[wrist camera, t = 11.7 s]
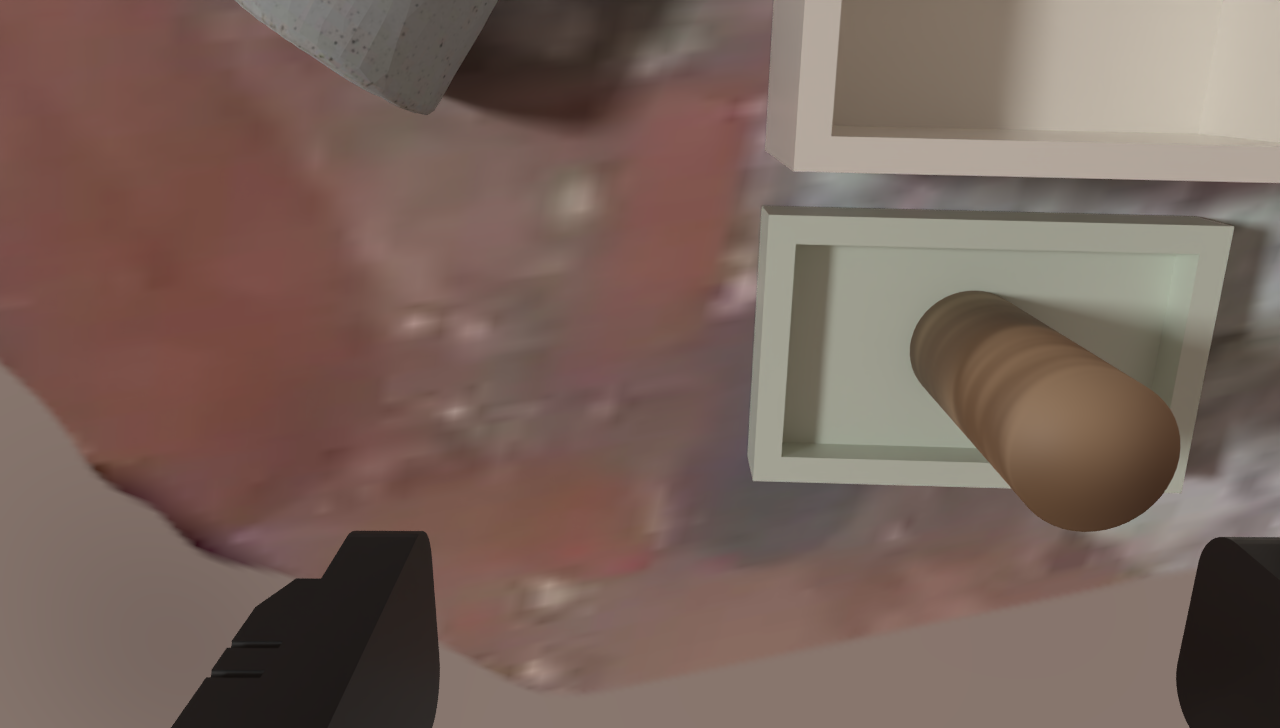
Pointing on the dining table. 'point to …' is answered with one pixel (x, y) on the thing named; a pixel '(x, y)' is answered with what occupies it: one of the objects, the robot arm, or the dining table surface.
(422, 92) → the grey cylinder
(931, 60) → the cream open box
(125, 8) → the dining table surface
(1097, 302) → the sage tray
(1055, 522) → the walnut pepper mill
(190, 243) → the dining table surface
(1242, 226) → the dining table surface
